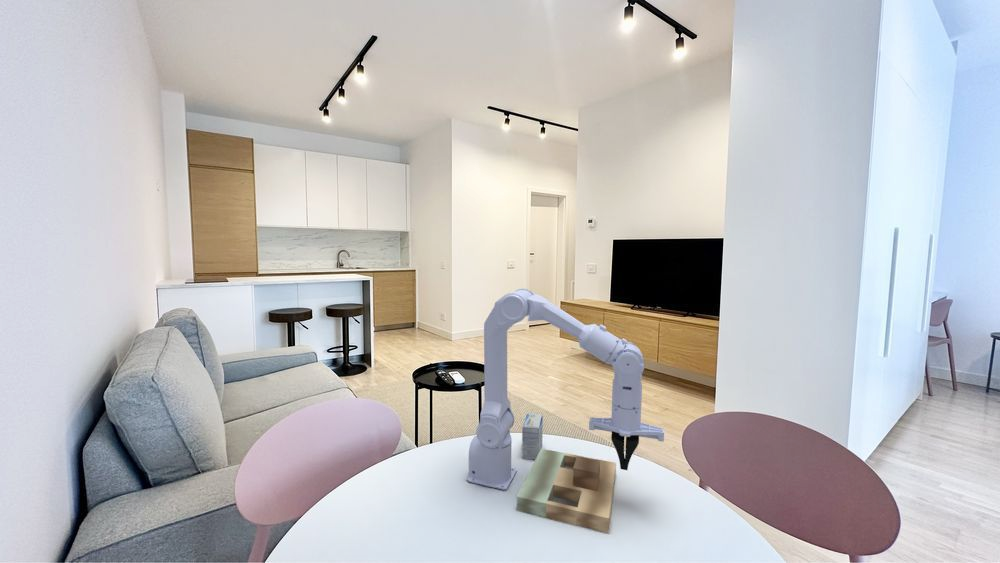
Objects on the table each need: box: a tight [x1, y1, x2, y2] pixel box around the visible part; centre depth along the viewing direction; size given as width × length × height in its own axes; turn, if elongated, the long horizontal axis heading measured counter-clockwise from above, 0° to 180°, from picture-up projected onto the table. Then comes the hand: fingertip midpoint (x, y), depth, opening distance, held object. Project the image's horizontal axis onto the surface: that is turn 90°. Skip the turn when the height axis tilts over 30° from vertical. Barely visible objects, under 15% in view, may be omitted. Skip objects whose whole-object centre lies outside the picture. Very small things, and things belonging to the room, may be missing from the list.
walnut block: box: [573, 455, 601, 491], centre depth 84 cm, size 5×5×4 cm
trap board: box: [516, 448, 617, 534], centre depth 85 cm, size 18×20×3 cm
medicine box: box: [521, 413, 544, 461], centre depth 101 cm, size 8×4×9 cm, turn 168°
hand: (624, 467), depth 81 cm, fingers closed
